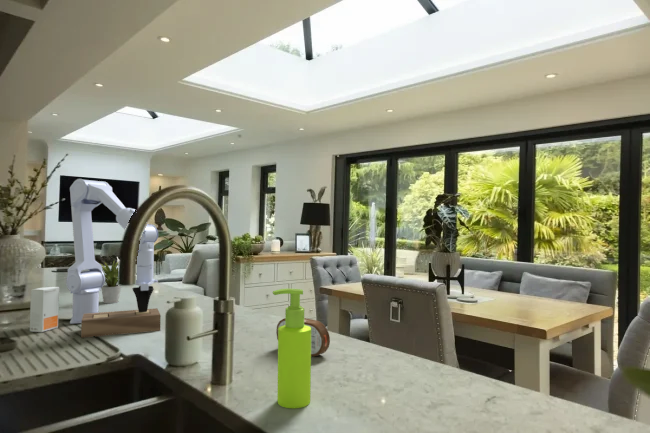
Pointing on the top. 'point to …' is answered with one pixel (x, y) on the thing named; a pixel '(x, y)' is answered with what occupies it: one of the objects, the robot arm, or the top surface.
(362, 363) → the top surface
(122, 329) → the walnut block
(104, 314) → the near maple peg
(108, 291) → the house plant
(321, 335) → the tin
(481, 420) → the top surface
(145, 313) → the far maple peg
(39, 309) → the skincare box
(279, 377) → the soap dispenser
